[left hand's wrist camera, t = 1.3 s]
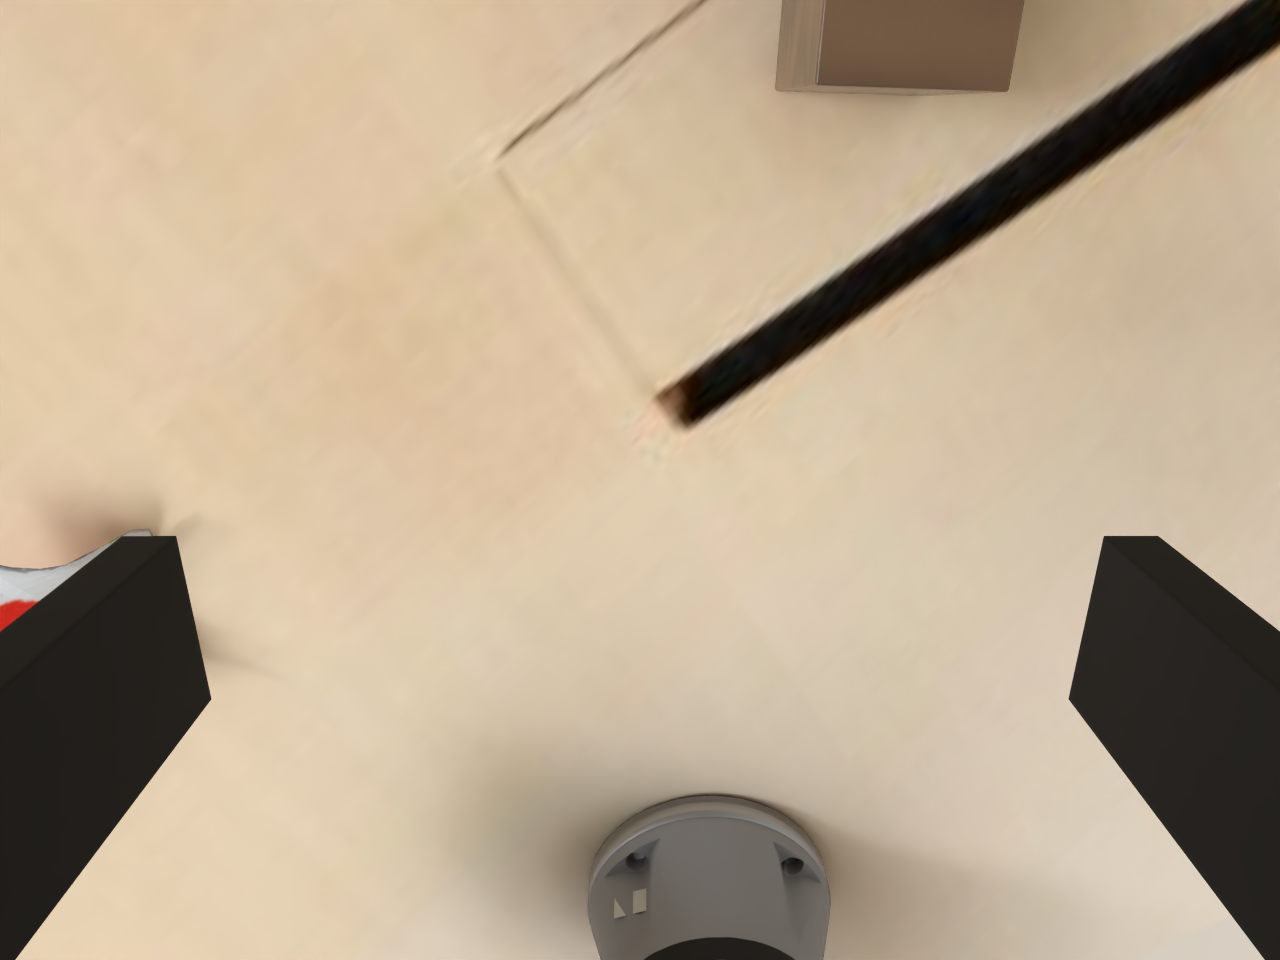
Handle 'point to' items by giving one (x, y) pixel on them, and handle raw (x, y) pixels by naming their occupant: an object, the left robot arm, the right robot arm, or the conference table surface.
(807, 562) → the conference table surface
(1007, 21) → the box
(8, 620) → the fish
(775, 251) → the conference table surface
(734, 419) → the conference table surface
